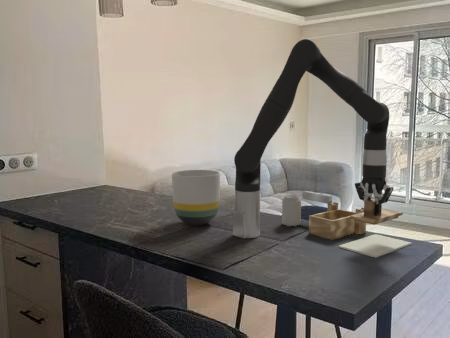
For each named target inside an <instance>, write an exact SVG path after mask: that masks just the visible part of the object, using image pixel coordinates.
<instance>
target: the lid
mask: <svg viewBox="0 0 450 338" xmlns="http://www.w3.org/2000/svg"><path fill="white" fill-rule="evenodd" d="M363 202H364V203H363V208H364V212H362V213H358V214H354V215H351V216H350V219H354V220H355V221H359V222H364V223H366V224H369V225H374V226H375V225H378V224H382V223H385V222H388V221H391V220H395V219H398V218H399V217H400V216H403V215H404V212H403V211H399V210H393V209H387V208H382V205H383V203H382V204H381V213H380V214H379V215H374V212H375V198H371V200H366V201H363Z"/></svg>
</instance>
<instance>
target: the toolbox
mask: <svg viewBox="0 0 450 338" xmlns="http://www.w3.org/2000/svg"><path fill="white" fill-rule="evenodd" d="M326 208H327V209H326V211H323V212H320V213H314V214H312V215H311V214H310V215H308V235H312V236H315V237H319V238H323V239H327V240H330V241H335V240H338V239H340V238H341V237H342V238H344V236H345V237H348V236H347V235H349V236H351V235H350V234H352V235H358V234H360V235H363V234H365V233H366V232H367V223H364V222H359V221H355V220H354V219H350V216H351V215H354V214H358V213H362V212H364V207H361V208H355V211H351V210H346V209H341V208H339V202H333V201H332V203H331V204H330V203H328V204H327V207H326ZM354 233H355V234H354ZM342 238H341V239H342Z"/></svg>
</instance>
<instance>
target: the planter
mask: <svg viewBox="0 0 450 338" xmlns="http://www.w3.org/2000/svg"><path fill="white" fill-rule="evenodd" d="M220 180H221V172H220V171H217V170H212V169H211V170H210V169H187V170H186V169H185V170H179V171H178V170H177V171H174V172H172V173H171V185H172V186H171V187H172V188H171V189H172V203H173V209H174V213H175V215H176V216H177V218H178V220H180V221H181V222H183V223H184V224H186V225H190V226H203V225H207V224H209V223H210V222H211V221H213V220H214V219H215V217H216V216H217V214H218V211H219V208H220V198H221V197H220V195H221V194H220V193H221V192H220V191H221V189H220V188H221V181H220Z"/></svg>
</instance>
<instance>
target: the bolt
mask: <svg viewBox="0 0 450 338" xmlns="http://www.w3.org/2000/svg"><path fill="white" fill-rule="evenodd" d="M301 195H302V196H301V199H302V200H307V201H312V202H317V203H322V204H326V205H328V203H330V204H333V195H330V194H327V193H319V192H315V191H310V190H309V191H308V190H302V192H301Z"/></svg>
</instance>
